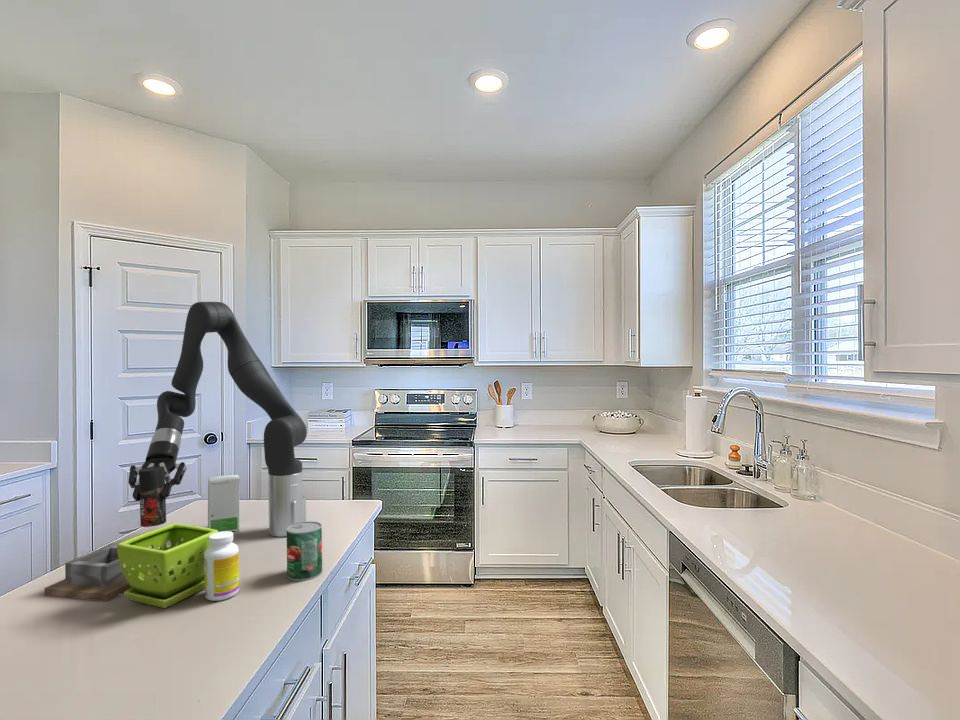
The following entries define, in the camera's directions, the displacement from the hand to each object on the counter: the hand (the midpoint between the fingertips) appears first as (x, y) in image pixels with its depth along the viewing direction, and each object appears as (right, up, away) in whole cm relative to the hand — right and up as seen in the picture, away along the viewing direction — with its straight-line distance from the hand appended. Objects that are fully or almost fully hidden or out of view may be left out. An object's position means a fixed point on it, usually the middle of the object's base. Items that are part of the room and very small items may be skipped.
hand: (150, 498), depth 138 cm
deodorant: (0, -7, +2) cm, 8 cm away
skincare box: (+14, -13, +12) cm, 22 cm away
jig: (+6, -13, -19) cm, 24 cm away
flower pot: (+23, -13, -29) cm, 39 cm away
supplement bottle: (+34, -13, -29) cm, 47 cm away
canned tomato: (+48, -13, -19) cm, 53 cm away
